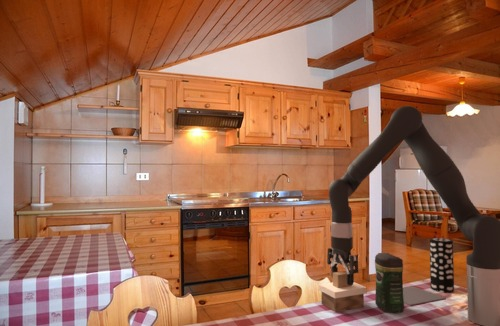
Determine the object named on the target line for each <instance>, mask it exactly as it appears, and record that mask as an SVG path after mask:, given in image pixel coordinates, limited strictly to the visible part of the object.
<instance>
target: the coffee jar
mask: <svg viewBox="0 0 500 326" xmlns="http://www.w3.org/2000/svg"><path fill="white" fill-rule="evenodd" d="M374 267H375V305H376V306H377V308H379V309H381V310H382V311H384V312H387V313H392V314H399V313H401V312H402V313H403V312H404V311H405V303H404V299H403V288H404V287H403V286H404V285H403V272H404V260H403V259H402V258H401V257H399V256H396V255H393V254H391V253H390V252H378V253H377V254H376V255H375V256H374Z"/></svg>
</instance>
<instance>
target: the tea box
mask: <svg viewBox="0 0 500 326" xmlns="http://www.w3.org/2000/svg"><path fill="white" fill-rule="evenodd" d="M364 296H365V295H364V294H359V295H353V296H347V297H341V298H333V297H331V296H329V295H327V294H326V293H324V292H322V291H321V305H322V306H325V307H326V308H328V309H329V310H331V311H333V312H334V313H339V312H342V311H343V312H344V311H348V310H349V311H350V310H355V309H360V308H364V307H365V303H364V302H365V301H364V299H365V297H364Z"/></svg>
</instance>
